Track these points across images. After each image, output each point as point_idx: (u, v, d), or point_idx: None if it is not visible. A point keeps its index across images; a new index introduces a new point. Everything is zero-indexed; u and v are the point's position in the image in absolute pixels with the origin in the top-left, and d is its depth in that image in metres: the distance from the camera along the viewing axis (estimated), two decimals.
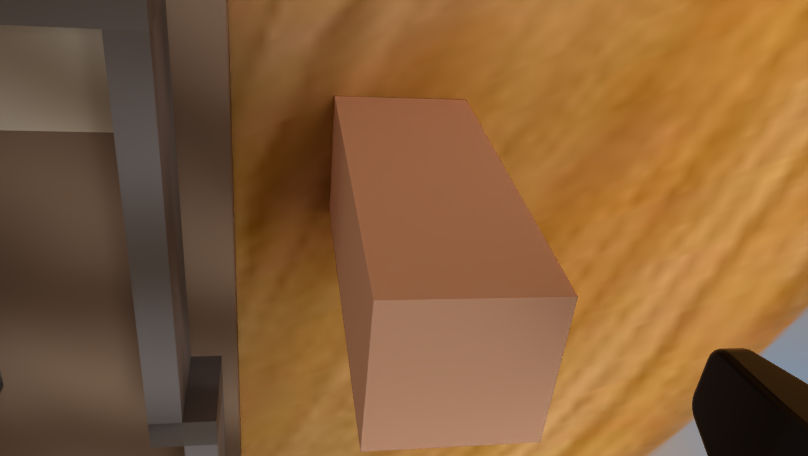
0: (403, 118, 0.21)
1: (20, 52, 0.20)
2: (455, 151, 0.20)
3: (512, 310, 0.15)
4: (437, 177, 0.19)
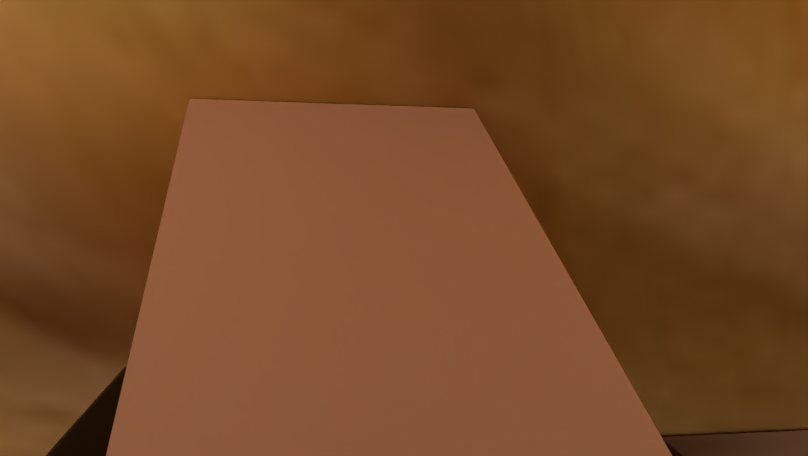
0: None
1: None
2: None
3: None
4: None
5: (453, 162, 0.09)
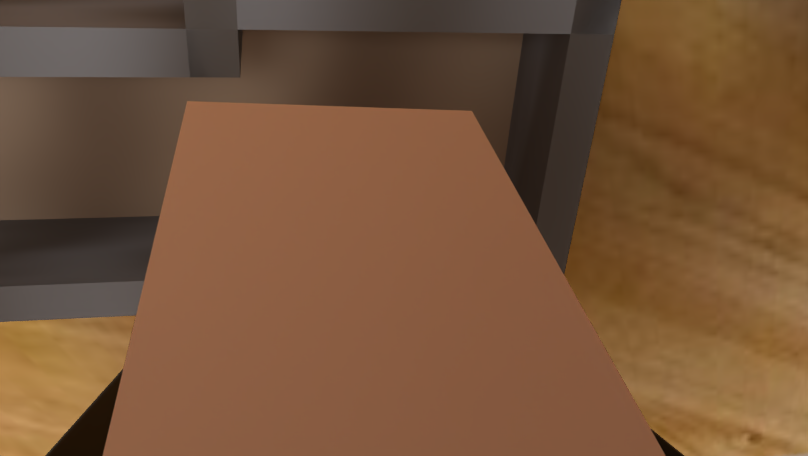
0: None
1: None
2: None
3: None
4: None
5: (451, 165, 0.09)
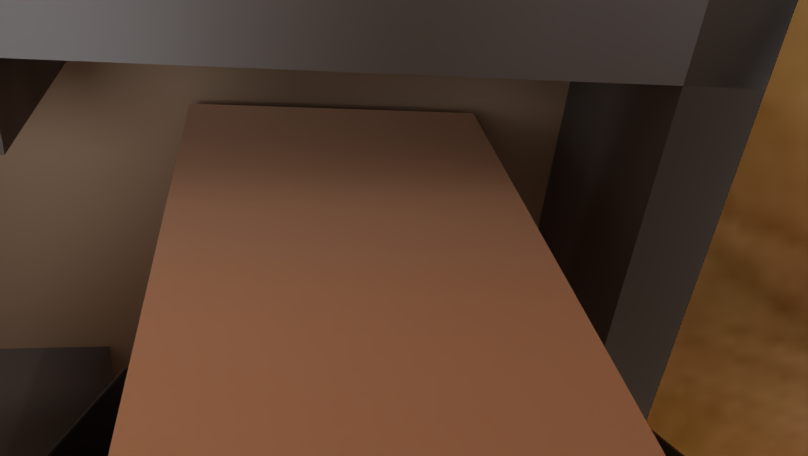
0: None
1: None
2: None
3: None
4: None
5: (452, 167, 0.09)
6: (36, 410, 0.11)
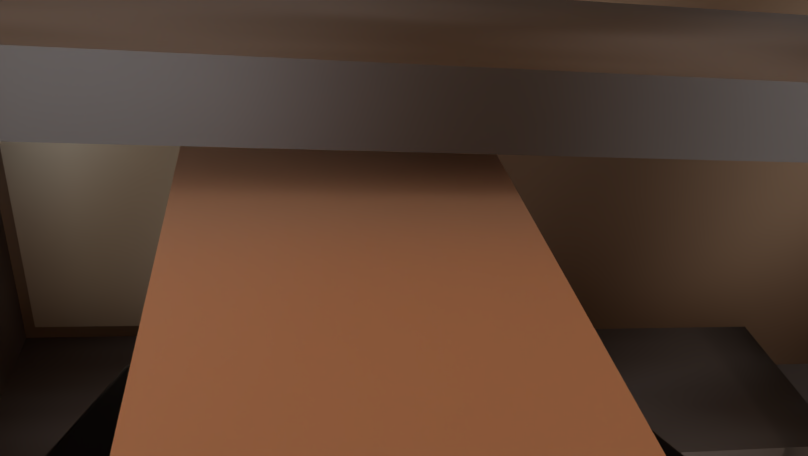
0: None
1: (119, 217, 0.12)
2: None
3: None
4: None
5: (453, 168, 0.09)
6: (745, 378, 0.13)
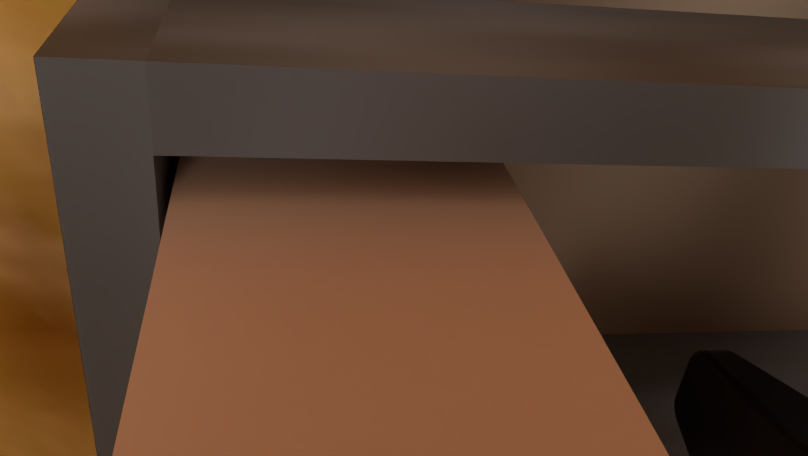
0: None
1: None
2: None
3: None
4: None
5: (453, 162, 0.10)
6: None
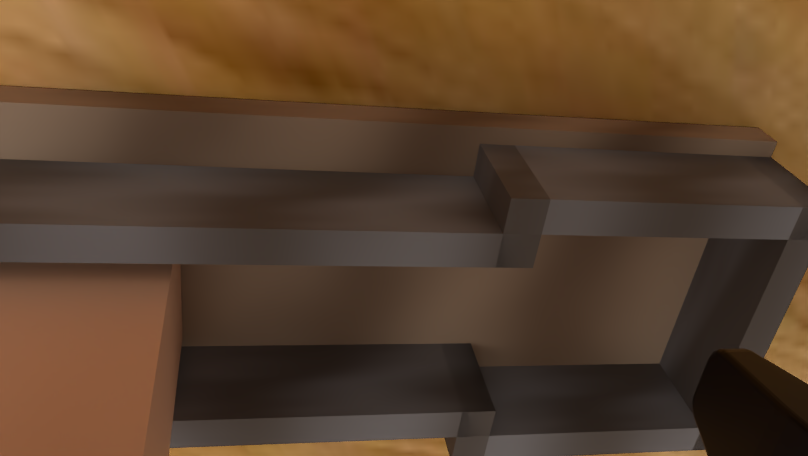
0: None
1: None
2: None
3: None
4: None
5: None
6: (456, 374, 0.23)
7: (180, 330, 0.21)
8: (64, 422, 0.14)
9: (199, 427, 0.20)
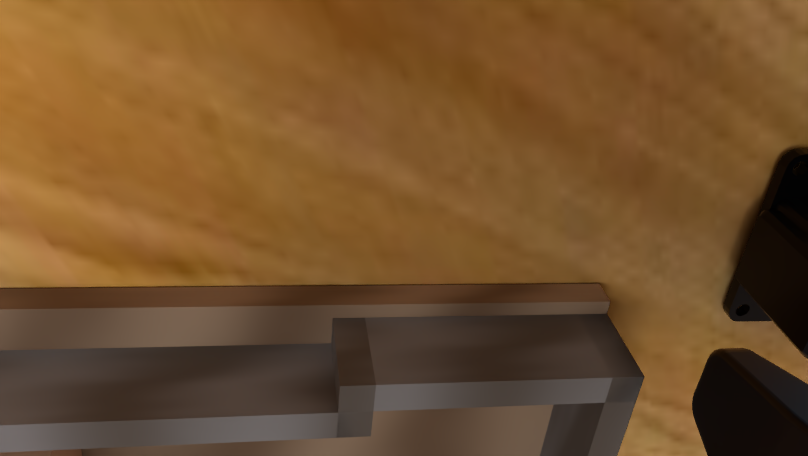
0: None
1: None
2: None
3: None
4: None
5: None
6: None
7: None
8: None
9: None
